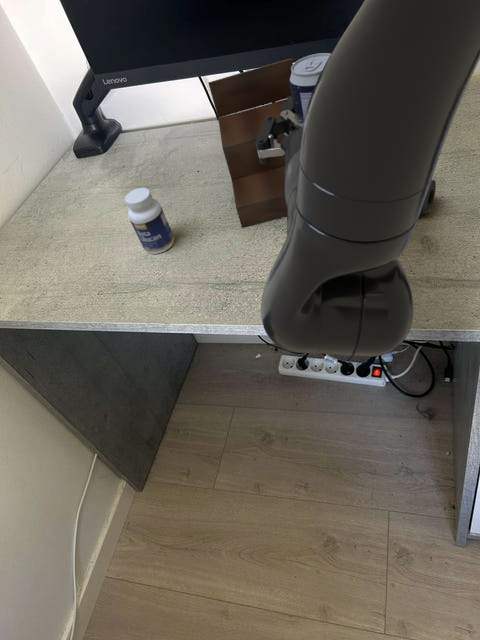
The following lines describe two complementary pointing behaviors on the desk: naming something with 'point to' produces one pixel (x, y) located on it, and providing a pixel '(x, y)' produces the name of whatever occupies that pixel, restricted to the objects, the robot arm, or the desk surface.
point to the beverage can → (305, 80)
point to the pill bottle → (149, 221)
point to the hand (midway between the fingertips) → (318, 99)
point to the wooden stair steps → (253, 138)
